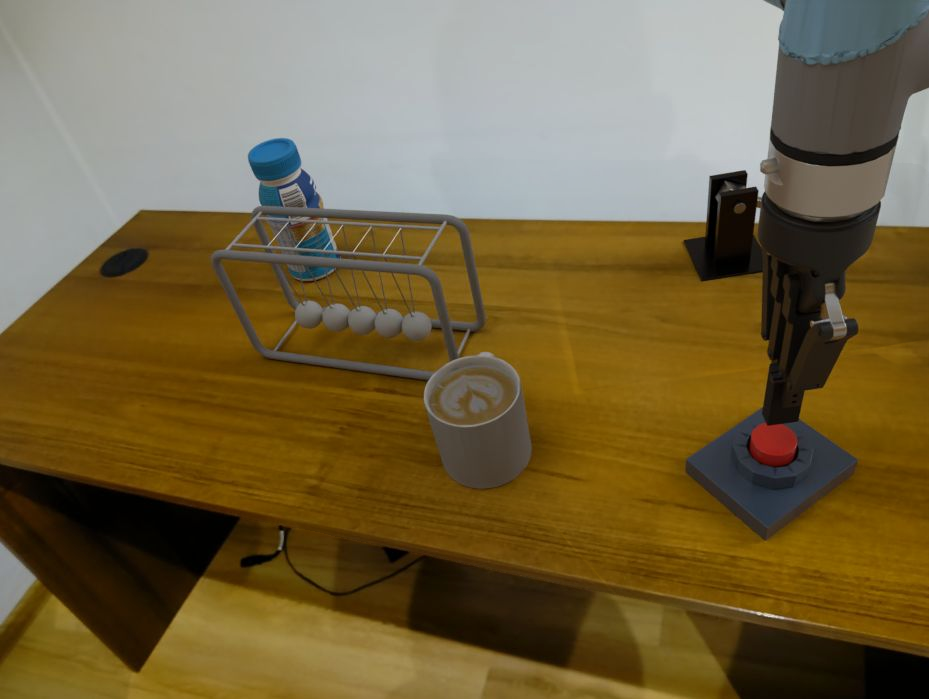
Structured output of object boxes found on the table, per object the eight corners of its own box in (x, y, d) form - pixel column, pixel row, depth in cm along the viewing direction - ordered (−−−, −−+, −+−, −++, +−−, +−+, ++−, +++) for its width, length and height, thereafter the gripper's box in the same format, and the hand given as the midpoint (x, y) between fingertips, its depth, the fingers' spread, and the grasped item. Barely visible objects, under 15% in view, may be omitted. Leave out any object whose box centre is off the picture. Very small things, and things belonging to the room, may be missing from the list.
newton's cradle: (257, 358, 97) (202, 252, 85) (294, 308, 104) (248, 203, 92) (463, 387, 86) (434, 270, 74) (489, 329, 93) (466, 213, 81)
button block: (769, 413, 76) (774, 388, 73) (854, 473, 69) (862, 447, 66) (684, 472, 72) (686, 447, 70) (764, 541, 66) (769, 516, 63)
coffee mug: (515, 497, 74) (503, 434, 67) (428, 479, 77) (407, 418, 71) (550, 402, 82) (542, 338, 76) (470, 389, 86) (455, 328, 79)
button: (769, 427, 70) (772, 415, 69) (804, 452, 68) (807, 440, 66) (740, 448, 69) (741, 436, 68) (774, 474, 66) (776, 462, 65)
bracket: (749, 236, 98) (759, 158, 90) (772, 276, 91) (784, 196, 83) (683, 246, 99) (686, 170, 91) (700, 286, 92) (706, 208, 84)
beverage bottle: (280, 283, 109) (229, 166, 96) (302, 250, 115) (256, 135, 101) (331, 284, 107) (285, 164, 93) (350, 250, 112) (310, 132, 99)
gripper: (735, 157, 54) (717, 373, 70) (800, 258, 45) (761, 481, 61) (838, 139, 54) (795, 361, 70) (925, 238, 44) (853, 469, 60)
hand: (779, 417), depth 65 cm, fingers closed
